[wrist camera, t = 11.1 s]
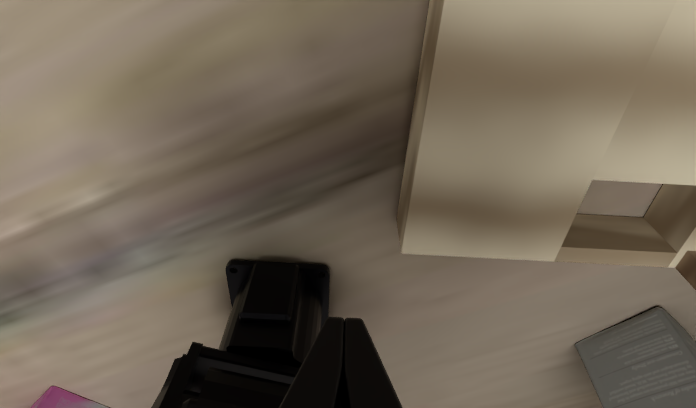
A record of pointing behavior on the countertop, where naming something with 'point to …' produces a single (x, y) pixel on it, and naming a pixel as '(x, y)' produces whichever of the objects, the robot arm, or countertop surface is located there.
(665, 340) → the skincare box
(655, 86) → the wooden tray
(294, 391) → the robot arm
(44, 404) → the gum box
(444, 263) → the countertop surface
